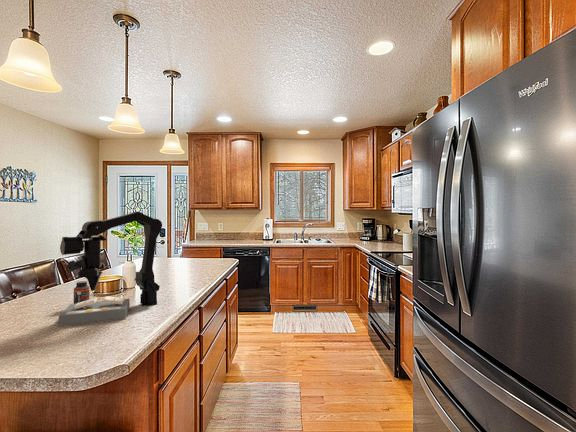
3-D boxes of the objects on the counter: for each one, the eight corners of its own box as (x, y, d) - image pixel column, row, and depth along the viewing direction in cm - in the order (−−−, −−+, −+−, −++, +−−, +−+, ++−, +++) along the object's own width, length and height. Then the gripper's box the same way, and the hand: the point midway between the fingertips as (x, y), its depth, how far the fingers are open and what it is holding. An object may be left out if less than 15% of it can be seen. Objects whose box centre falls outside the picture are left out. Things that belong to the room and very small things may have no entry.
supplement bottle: (81, 309, 134) (81, 283, 134) (70, 308, 135) (70, 283, 135) (92, 305, 140) (92, 280, 140) (81, 304, 141) (81, 280, 141)
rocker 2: (123, 301, 131) (124, 298, 131) (122, 304, 126) (123, 301, 126) (105, 298, 128) (106, 295, 128) (103, 302, 124) (104, 299, 124)
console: (129, 307, 137) (129, 296, 137) (125, 318, 122) (125, 306, 122) (70, 313, 128) (70, 301, 128) (58, 326, 114) (58, 313, 114)
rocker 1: (97, 299, 127) (96, 296, 127) (94, 302, 123) (93, 300, 122) (78, 305, 125) (77, 303, 125) (74, 309, 120) (73, 306, 120)
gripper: (74, 250, 130) (75, 287, 130) (61, 256, 113) (62, 298, 113) (105, 249, 134) (105, 284, 134) (96, 254, 117) (97, 295, 117)
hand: (92, 290), depth 124 cm, fingers closed
